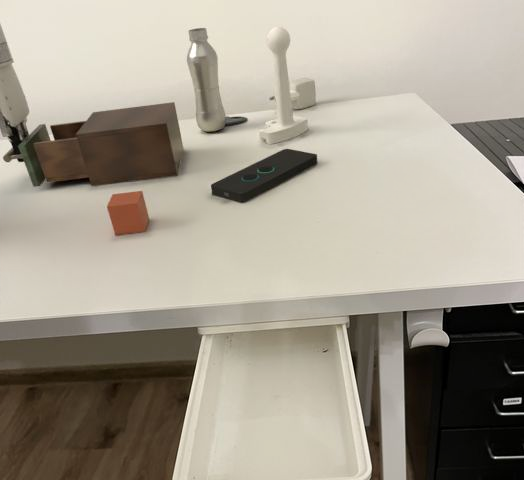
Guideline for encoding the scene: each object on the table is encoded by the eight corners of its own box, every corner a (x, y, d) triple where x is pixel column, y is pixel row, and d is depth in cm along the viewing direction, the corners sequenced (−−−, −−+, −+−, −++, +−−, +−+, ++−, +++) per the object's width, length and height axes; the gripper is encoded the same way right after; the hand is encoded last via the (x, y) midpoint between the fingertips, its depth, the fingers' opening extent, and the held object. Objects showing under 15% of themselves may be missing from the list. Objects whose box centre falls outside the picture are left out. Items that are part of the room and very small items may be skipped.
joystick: (273, 145, 111) (263, 33, 99) (249, 139, 116) (237, 31, 104) (312, 129, 117) (306, 21, 104) (288, 124, 121) (279, 20, 109)
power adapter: (279, 117, 127) (277, 89, 123) (268, 113, 130) (265, 86, 127) (318, 105, 131) (317, 78, 127) (306, 102, 134) (305, 76, 131)
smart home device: (208, 184, 94) (284, 147, 104) (209, 194, 95) (285, 156, 105) (242, 193, 89) (319, 153, 99) (243, 203, 90) (319, 163, 101)
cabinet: (91, 185, 104) (75, 134, 99) (106, 159, 116) (92, 112, 110) (177, 175, 104) (166, 123, 98) (183, 150, 115) (174, 102, 109)
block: (115, 235, 86) (106, 206, 83) (120, 222, 90) (112, 194, 87) (145, 231, 86) (137, 202, 83) (149, 218, 89) (142, 190, 87)
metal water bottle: (205, 125, 128) (189, 27, 115) (232, 125, 125) (218, 25, 113) (193, 134, 123) (175, 33, 111) (220, 135, 121) (205, 31, 108)
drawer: (7, 190, 105) (-10, 149, 100) (29, 165, 116) (14, 127, 111) (113, 177, 104) (101, 135, 99) (124, 154, 115) (114, 115, 110)
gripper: (-16, 51, 103) (21, 150, 114) (-50, 68, 91) (-5, 176, 103) (23, 46, 103) (56, 145, 114) (-6, 62, 91) (34, 171, 102)
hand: (27, 159), depth 108 cm, fingers closed
